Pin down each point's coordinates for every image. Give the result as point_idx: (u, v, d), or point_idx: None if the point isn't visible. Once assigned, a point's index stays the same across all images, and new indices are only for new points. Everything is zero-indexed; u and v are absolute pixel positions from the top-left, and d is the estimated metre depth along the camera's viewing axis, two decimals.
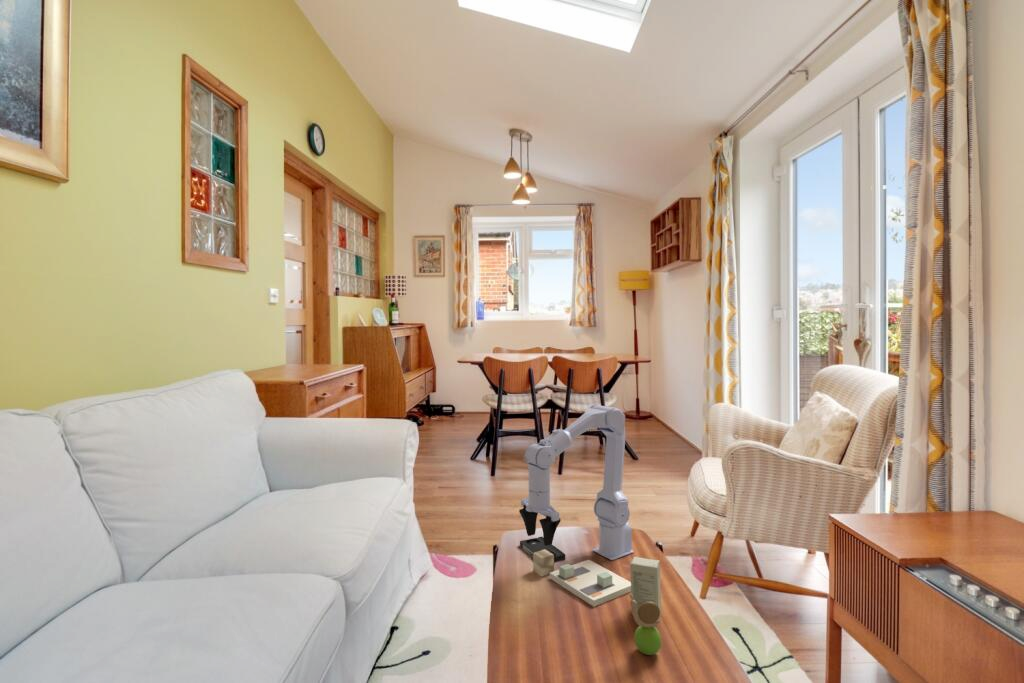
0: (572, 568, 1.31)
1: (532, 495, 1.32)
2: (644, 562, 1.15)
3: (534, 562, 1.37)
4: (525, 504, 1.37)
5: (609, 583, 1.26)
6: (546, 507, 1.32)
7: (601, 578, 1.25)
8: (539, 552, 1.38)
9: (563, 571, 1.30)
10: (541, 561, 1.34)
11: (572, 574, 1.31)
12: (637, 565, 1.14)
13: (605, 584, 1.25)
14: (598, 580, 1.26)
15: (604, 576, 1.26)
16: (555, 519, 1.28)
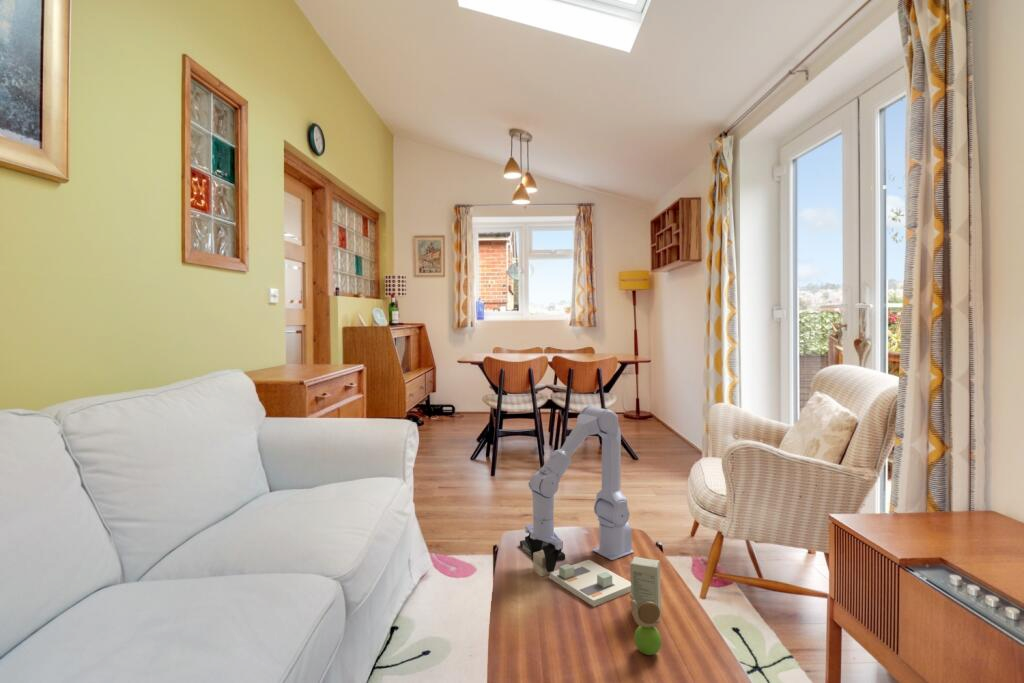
0: (572, 568, 1.31)
1: (536, 522, 1.35)
2: (644, 562, 1.15)
3: (534, 562, 1.37)
4: (529, 531, 1.39)
5: (609, 583, 1.26)
6: (550, 535, 1.34)
7: (601, 578, 1.25)
8: (539, 552, 1.38)
9: (563, 571, 1.30)
10: (541, 561, 1.34)
11: (572, 574, 1.31)
12: (637, 565, 1.14)
13: (605, 584, 1.25)
14: (598, 580, 1.26)
15: (604, 576, 1.26)
16: (559, 547, 1.31)
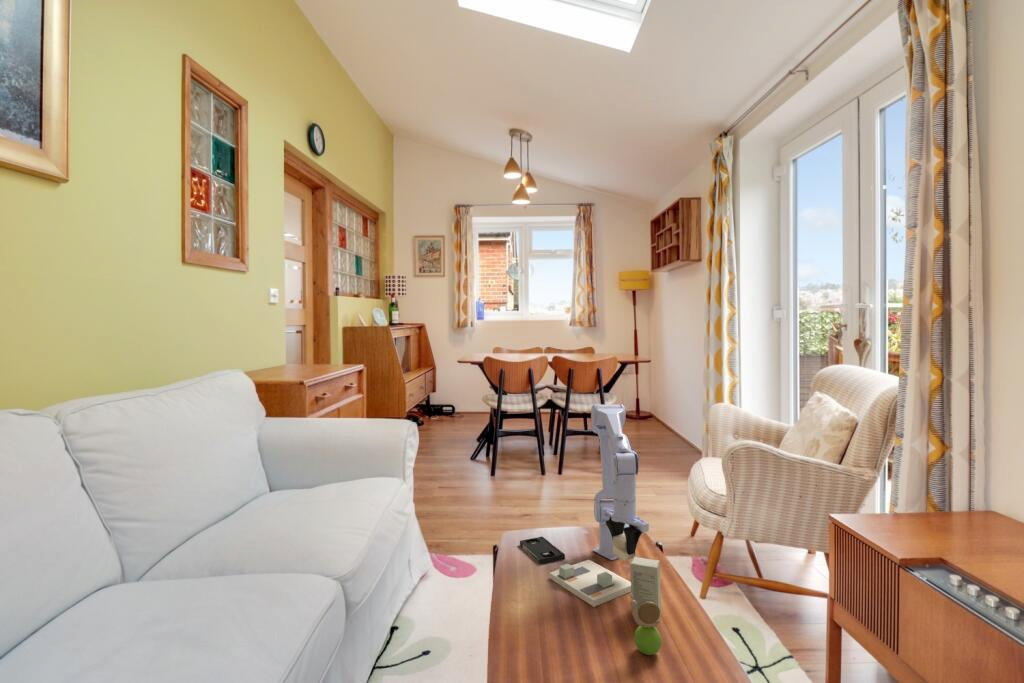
0: (572, 568, 1.31)
1: (619, 504, 1.28)
2: (644, 562, 1.15)
3: (614, 546, 1.30)
4: (608, 514, 1.33)
5: (609, 583, 1.26)
6: (633, 517, 1.28)
7: (601, 578, 1.25)
8: (619, 536, 1.31)
9: (563, 571, 1.30)
10: (624, 544, 1.28)
11: (572, 574, 1.31)
12: (637, 565, 1.14)
13: (605, 584, 1.25)
14: (598, 580, 1.26)
15: (604, 576, 1.26)
16: (645, 530, 1.24)
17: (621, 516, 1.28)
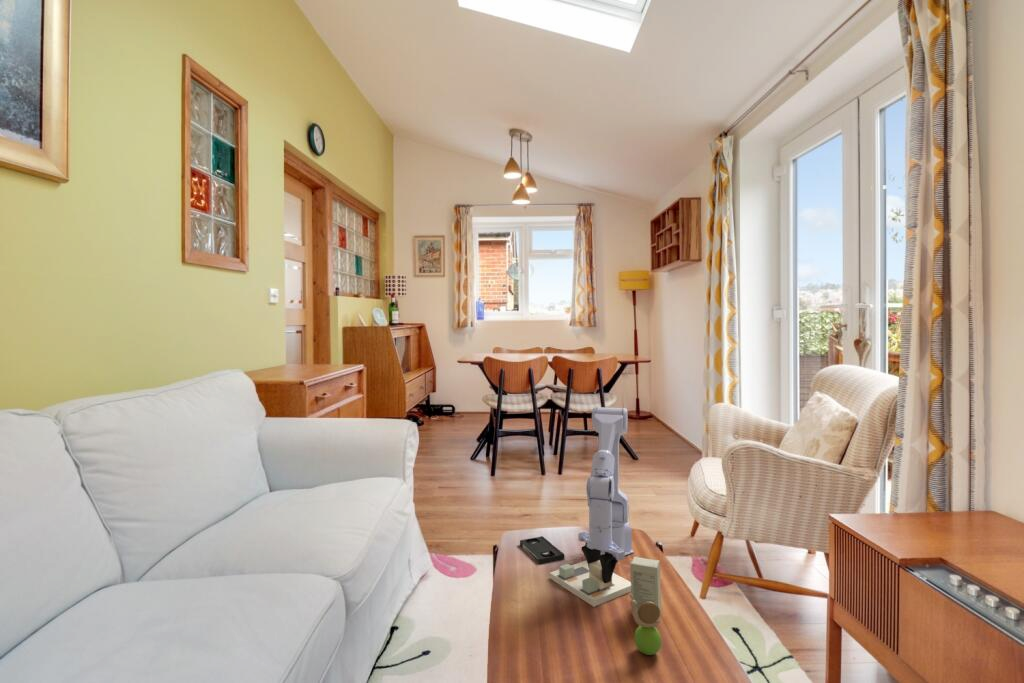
0: (572, 568, 1.31)
1: (594, 530, 1.23)
2: (644, 562, 1.15)
3: (590, 574, 1.26)
4: (584, 539, 1.28)
5: (594, 589, 1.23)
6: (609, 544, 1.23)
7: (586, 583, 1.22)
8: (595, 563, 1.26)
9: (563, 571, 1.30)
10: (600, 572, 1.23)
11: (572, 574, 1.31)
12: (637, 565, 1.14)
13: (591, 590, 1.22)
14: (583, 586, 1.23)
15: (590, 581, 1.23)
16: (620, 558, 1.19)
17: (596, 543, 1.23)
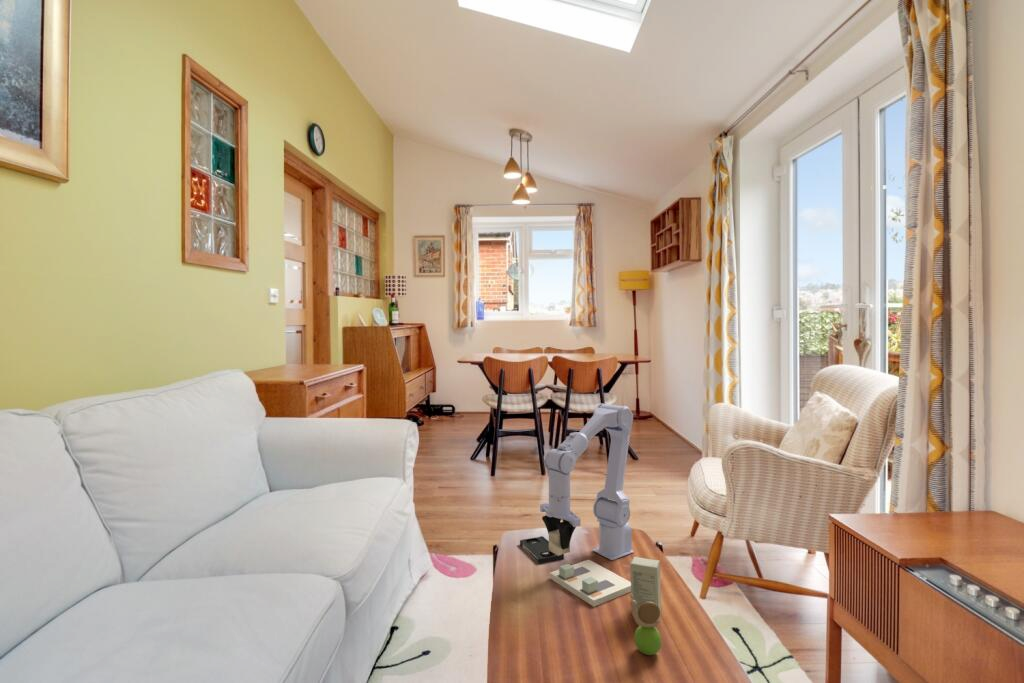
0: (572, 568, 1.31)
1: (553, 500, 1.32)
2: (644, 562, 1.15)
3: (550, 541, 1.34)
4: (545, 509, 1.36)
5: (594, 589, 1.23)
6: (567, 512, 1.32)
7: (586, 583, 1.22)
8: (554, 531, 1.35)
9: (563, 571, 1.30)
10: (558, 539, 1.31)
11: (572, 574, 1.31)
12: (637, 565, 1.14)
13: (591, 590, 1.22)
14: (583, 586, 1.23)
15: (590, 581, 1.23)
16: (576, 525, 1.28)
17: (555, 511, 1.31)
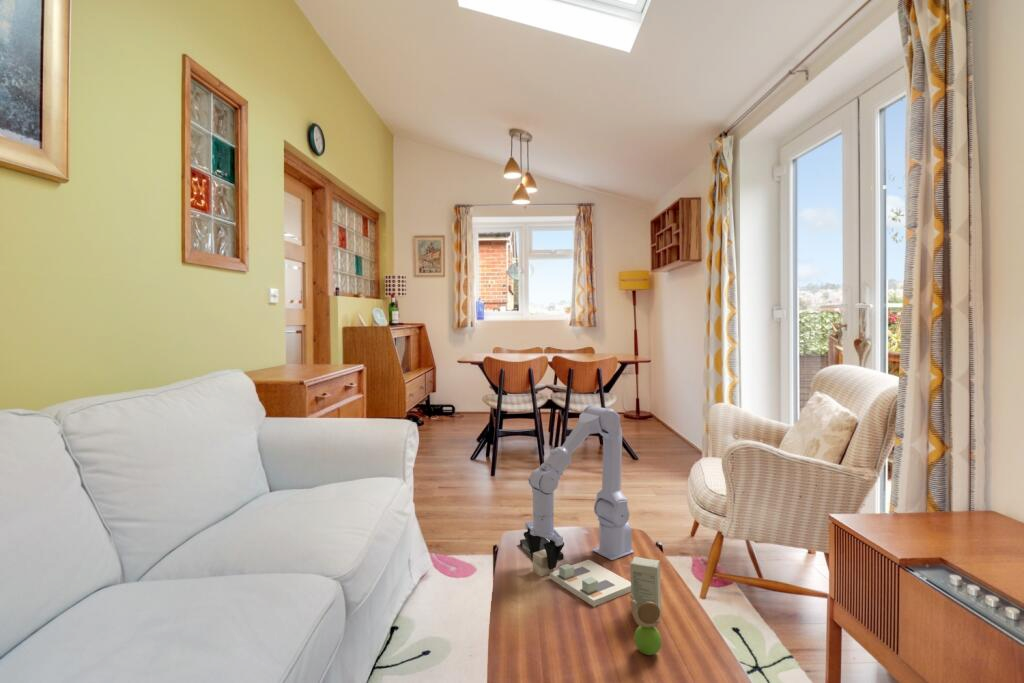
0: (572, 568, 1.31)
1: (536, 519, 1.35)
2: (644, 562, 1.15)
3: (534, 562, 1.37)
4: (529, 527, 1.39)
5: (594, 589, 1.23)
6: (550, 531, 1.35)
7: (586, 583, 1.22)
8: (538, 552, 1.37)
9: (563, 571, 1.30)
10: (541, 561, 1.34)
11: (572, 574, 1.31)
12: (637, 565, 1.14)
13: (591, 590, 1.22)
14: (583, 586, 1.23)
15: (590, 581, 1.23)
16: (559, 544, 1.31)
17: (538, 530, 1.34)
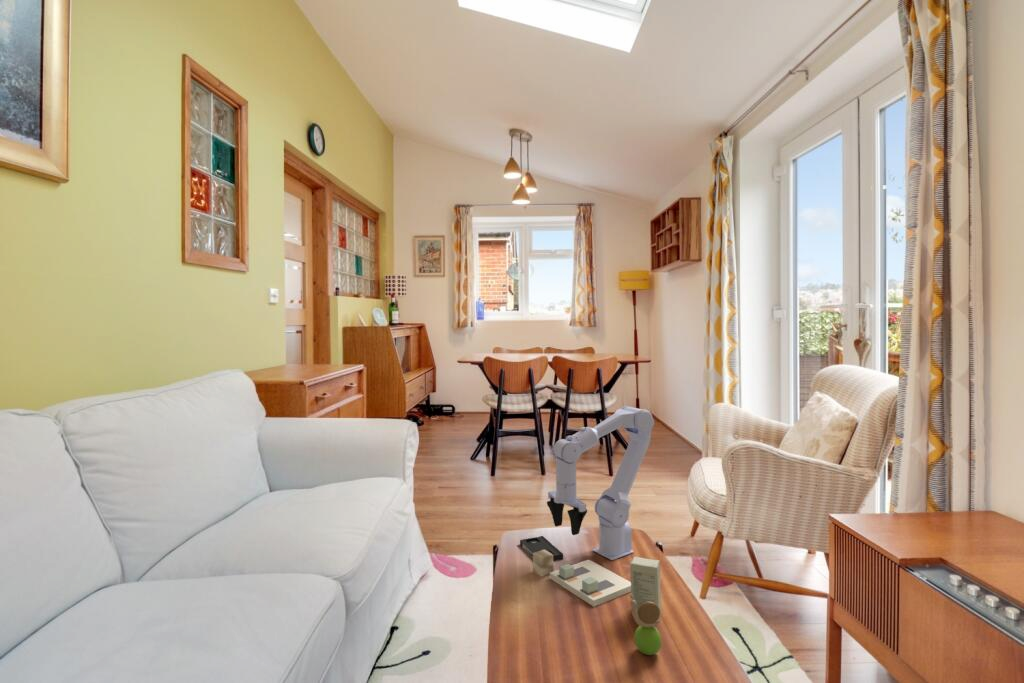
0: (572, 568, 1.31)
1: (560, 487, 1.40)
2: (644, 562, 1.15)
3: (534, 562, 1.37)
4: (552, 496, 1.45)
5: (594, 589, 1.23)
6: (573, 499, 1.40)
7: (586, 583, 1.22)
8: (538, 552, 1.37)
9: (563, 571, 1.30)
10: (541, 561, 1.34)
11: (572, 574, 1.31)
12: (637, 565, 1.14)
13: (591, 590, 1.22)
14: (583, 586, 1.23)
15: (590, 581, 1.23)
16: (582, 510, 1.36)
17: (562, 498, 1.40)
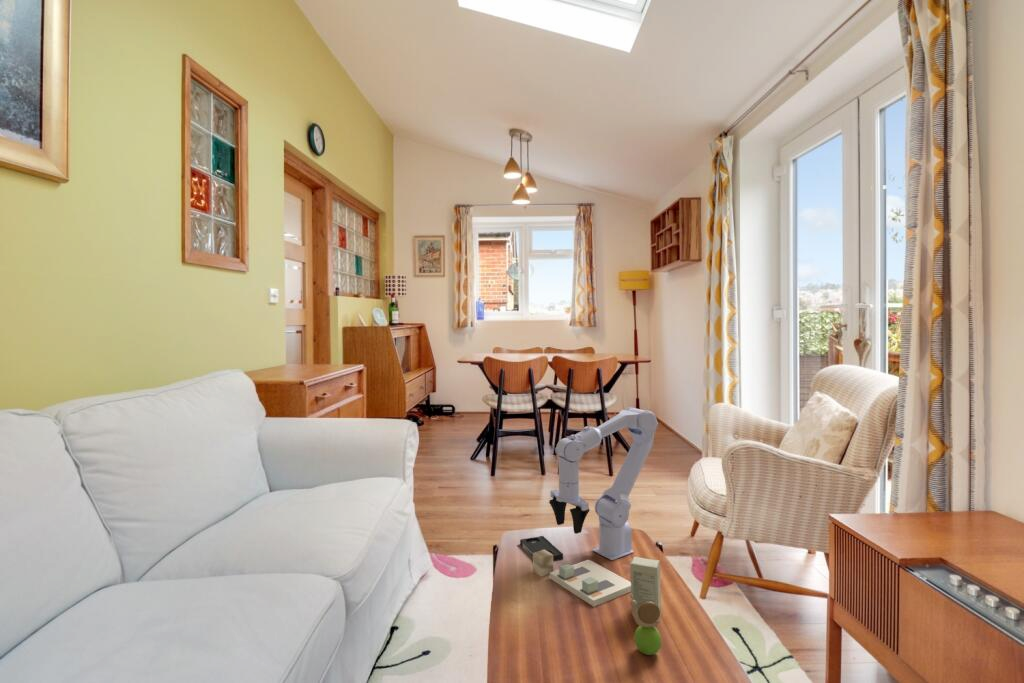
0: (572, 568, 1.31)
1: (563, 486, 1.41)
2: (644, 562, 1.15)
3: (534, 562, 1.37)
4: (555, 495, 1.45)
5: (594, 589, 1.23)
6: (576, 497, 1.41)
7: (586, 583, 1.22)
8: (538, 552, 1.37)
9: (563, 571, 1.30)
10: (541, 561, 1.34)
11: (572, 574, 1.31)
12: (637, 565, 1.14)
13: (591, 590, 1.22)
14: (583, 586, 1.23)
15: (590, 581, 1.23)
16: (585, 508, 1.37)
17: (565, 496, 1.41)
